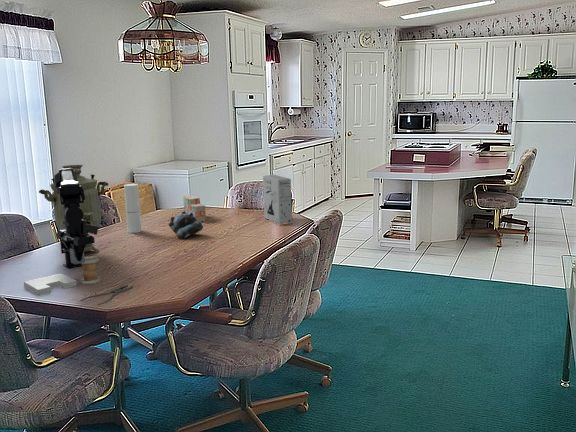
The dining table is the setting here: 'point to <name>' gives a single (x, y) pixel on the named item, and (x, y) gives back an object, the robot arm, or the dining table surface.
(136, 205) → the cylindrical container
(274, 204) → the cereal box
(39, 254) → the dining table surface
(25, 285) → the notched board
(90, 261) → the bobbin
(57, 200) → the samovar
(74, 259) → the steel block
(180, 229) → the dark grey lumpy cluster
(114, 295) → the pliers
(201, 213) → the stack of blocks
